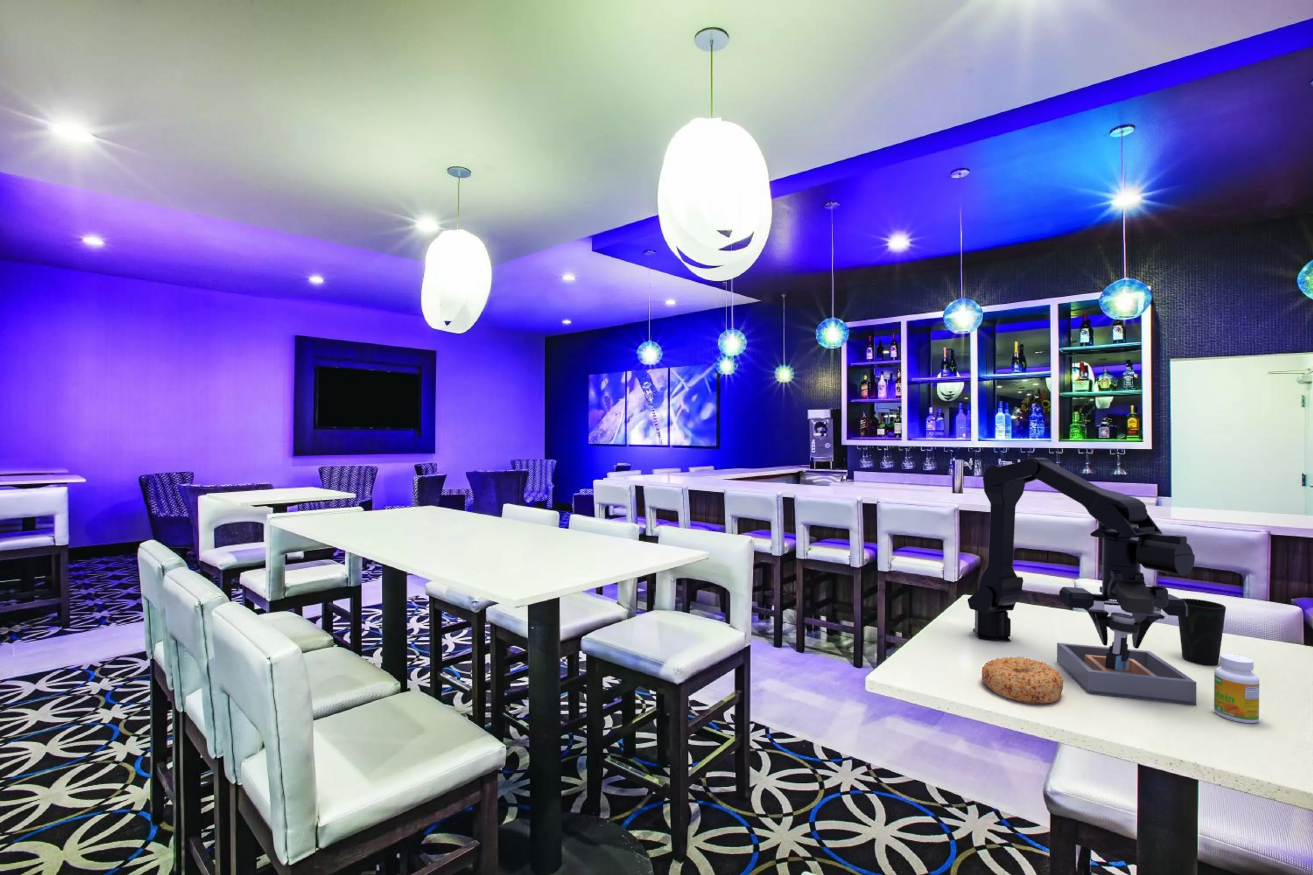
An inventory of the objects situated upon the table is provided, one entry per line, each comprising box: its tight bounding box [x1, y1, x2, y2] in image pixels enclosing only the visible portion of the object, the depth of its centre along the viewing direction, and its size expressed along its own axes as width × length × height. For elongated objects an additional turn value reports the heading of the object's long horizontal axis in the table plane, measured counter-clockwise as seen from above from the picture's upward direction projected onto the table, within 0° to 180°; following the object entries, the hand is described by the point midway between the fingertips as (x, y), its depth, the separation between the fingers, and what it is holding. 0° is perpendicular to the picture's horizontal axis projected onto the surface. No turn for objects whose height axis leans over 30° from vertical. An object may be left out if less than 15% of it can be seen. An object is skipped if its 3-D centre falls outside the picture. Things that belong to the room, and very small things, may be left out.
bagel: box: [981, 656, 1064, 705], centre depth 110 cm, size 13×14×5 cm
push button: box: [1105, 611, 1140, 671], centre depth 114 cm, size 7×5×10 cm
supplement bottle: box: [1213, 653, 1260, 724], centre depth 100 cm, size 5×5×10 cm
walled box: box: [1056, 642, 1197, 706], centre depth 114 cm, size 16×16×4 cm
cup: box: [1177, 597, 1227, 667], centre depth 125 cm, size 8×8×12 cm
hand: (1120, 646), depth 114 cm, fingers closed on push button, 5 cm apart
